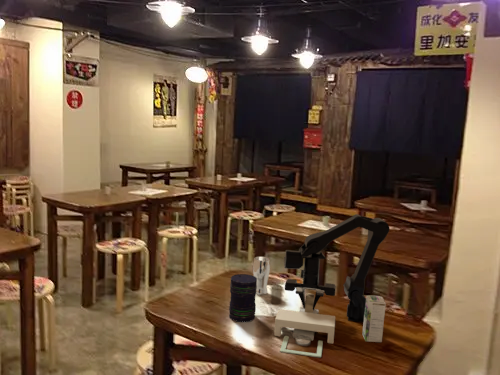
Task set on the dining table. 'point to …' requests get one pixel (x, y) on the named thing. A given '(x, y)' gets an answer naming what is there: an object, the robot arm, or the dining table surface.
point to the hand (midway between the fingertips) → (308, 308)
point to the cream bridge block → (305, 322)
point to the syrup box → (374, 319)
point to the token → (303, 340)
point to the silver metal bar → (308, 309)
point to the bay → (283, 349)
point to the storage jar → (242, 298)
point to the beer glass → (261, 273)
